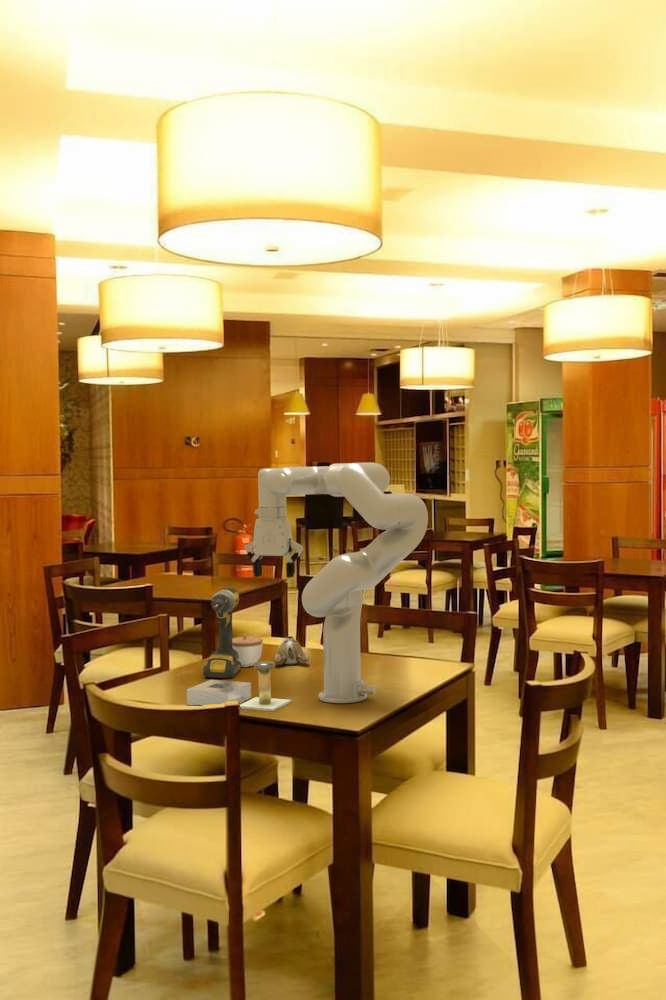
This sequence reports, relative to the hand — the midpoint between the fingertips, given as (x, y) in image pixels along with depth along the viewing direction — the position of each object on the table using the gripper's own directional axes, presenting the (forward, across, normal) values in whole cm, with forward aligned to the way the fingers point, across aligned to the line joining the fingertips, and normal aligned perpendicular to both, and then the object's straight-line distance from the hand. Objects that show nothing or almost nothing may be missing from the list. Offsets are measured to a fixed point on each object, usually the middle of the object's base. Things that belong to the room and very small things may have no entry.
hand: (274, 576), depth 265 cm
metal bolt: (+30, +6, -19) cm, 36 cm away
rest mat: (+30, +6, -19) cm, 36 cm away
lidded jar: (+31, -23, +25) cm, 46 cm away
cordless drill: (+31, -22, +8) cm, 38 cm away
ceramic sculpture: (+31, -11, +31) cm, 45 cm away
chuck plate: (+30, -7, -19) cm, 36 cm away
